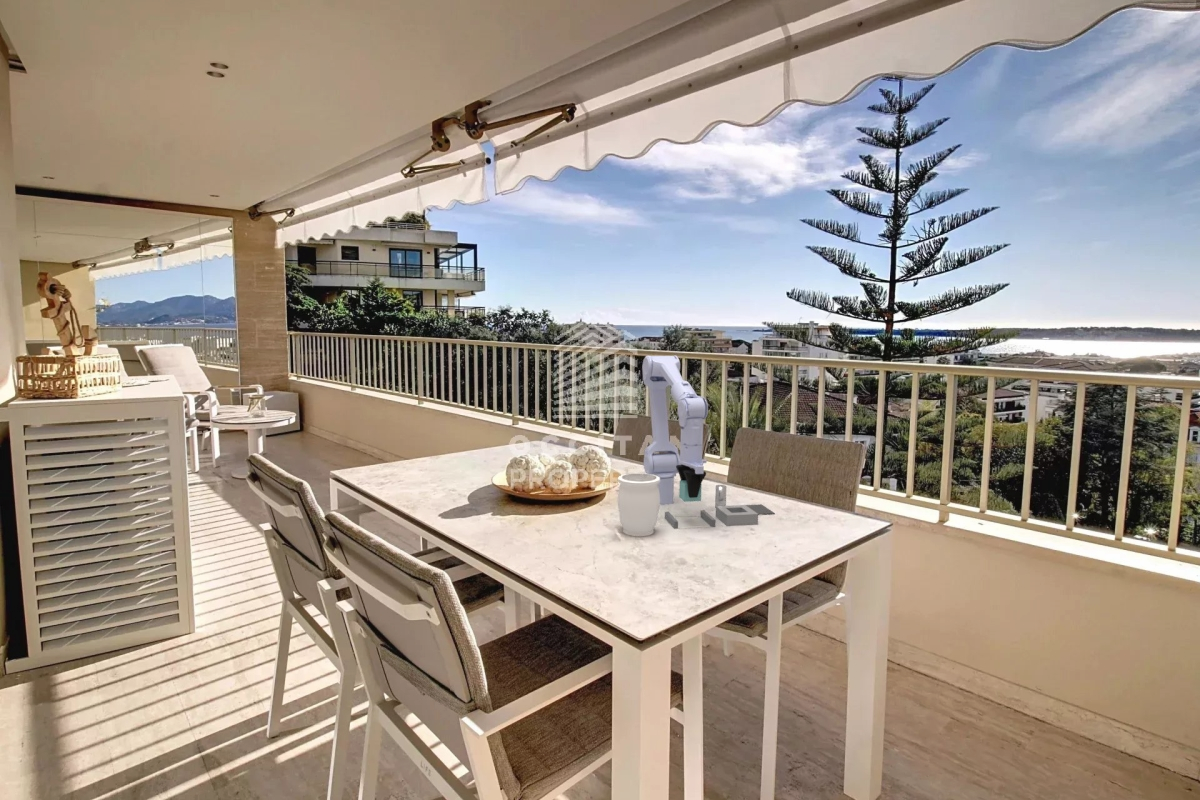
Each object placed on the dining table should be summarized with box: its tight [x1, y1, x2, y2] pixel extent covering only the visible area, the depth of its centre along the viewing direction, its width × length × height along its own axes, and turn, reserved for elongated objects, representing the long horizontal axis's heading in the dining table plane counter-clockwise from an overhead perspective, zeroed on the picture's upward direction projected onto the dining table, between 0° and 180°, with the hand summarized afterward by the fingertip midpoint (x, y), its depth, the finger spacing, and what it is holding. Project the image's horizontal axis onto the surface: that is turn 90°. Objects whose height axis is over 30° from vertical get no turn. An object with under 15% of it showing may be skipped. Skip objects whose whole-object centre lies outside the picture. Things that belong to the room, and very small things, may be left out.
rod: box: [714, 484, 727, 509], centre depth 181 cm, size 3×3×8 cm
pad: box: [745, 503, 776, 516], centre depth 183 cm, size 9×9×1 cm
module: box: [678, 479, 702, 502], centre depth 167 cm, size 4×4×4 cm
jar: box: [617, 472, 660, 537], centre depth 159 cm, size 11×10×15 cm
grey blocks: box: [664, 504, 759, 530], centre depth 169 cm, size 24×14×4 cm, turn 100°
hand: (690, 494), depth 167 cm, fingers closed on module, 4 cm apart
